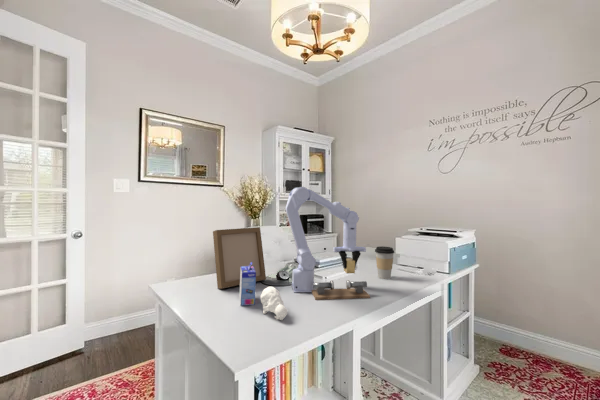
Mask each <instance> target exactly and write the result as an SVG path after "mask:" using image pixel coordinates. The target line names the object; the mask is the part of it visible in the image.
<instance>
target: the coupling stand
mask: <svg viewBox="0 0 600 400" xmlns="http://www.w3.org/2000/svg"><path fill="white" fill-rule="evenodd" d="M367 287H368V283H367V281H366V280H365V281H350V280H348V279H347V280H345V288H335V282H334V280H330V281H328V282H325V281H324V282H314V283H313V289H316V290H311V291H312V292H311V294H312V296H313V298H314V300H316V301H320V300H322V301H325V300H344V299H345V300H348V299H349V300H352V299H370V298H371V295H370V294H369V293H368V292H367V291H366V290H365V289H364V288H367Z"/></svg>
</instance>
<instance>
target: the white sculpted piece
mask: <svg viewBox="0 0 600 400" xmlns="http://www.w3.org/2000/svg"><path fill="white" fill-rule="evenodd" d="M259 298H260V303H261V304H262V314H263V315H266V314H267V313H268V312H271V313H274V317H273V318H275V319H276V320H280V321H283V320H284V318H286V316H287V315H288V309H287V308H286V307H285V305H284V304H285V303H284V300H283V299H282V297H281V294H280V291H279V290H278V289H277V288H275V287H274V286H267V287H266V288H264V289H263V290H262V292H261V294H260V297H259Z"/></svg>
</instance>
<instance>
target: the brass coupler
mask: <svg viewBox="0 0 600 400" xmlns="http://www.w3.org/2000/svg"><path fill="white" fill-rule="evenodd" d="M343 272H345V273H346V274H356V267H355V260H353V259H352V257H351V258H349V257H347V258H346V269H345V268H343Z"/></svg>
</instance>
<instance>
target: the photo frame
mask: <svg viewBox="0 0 600 400" xmlns="http://www.w3.org/2000/svg"><path fill="white" fill-rule="evenodd" d="M261 232H262V231H261V227H260V226H258V227H257V226H256V227H242V228H228V229H227V228H226V229H216V230H213V231H212V236H213V249H214V260H215V271H216V272H215V273H216V283H217V289H227V288H230V287H235V286H236V287H237V286H240V270H241V267H243V266H249V264H250V263H251V262H252V266H254V269H255V271H256V282H259V281H265V280H267V277H266V266H265V260H264V257H265V256H264V249H263V241H262V233H261ZM250 266H251V265H250Z"/></svg>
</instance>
